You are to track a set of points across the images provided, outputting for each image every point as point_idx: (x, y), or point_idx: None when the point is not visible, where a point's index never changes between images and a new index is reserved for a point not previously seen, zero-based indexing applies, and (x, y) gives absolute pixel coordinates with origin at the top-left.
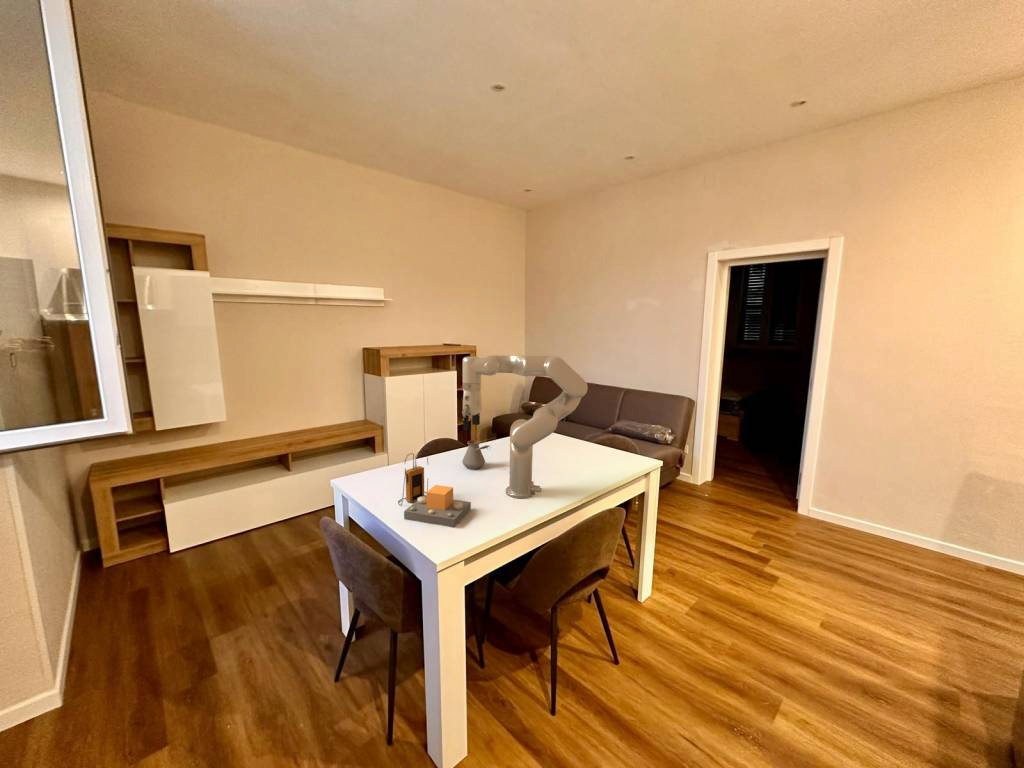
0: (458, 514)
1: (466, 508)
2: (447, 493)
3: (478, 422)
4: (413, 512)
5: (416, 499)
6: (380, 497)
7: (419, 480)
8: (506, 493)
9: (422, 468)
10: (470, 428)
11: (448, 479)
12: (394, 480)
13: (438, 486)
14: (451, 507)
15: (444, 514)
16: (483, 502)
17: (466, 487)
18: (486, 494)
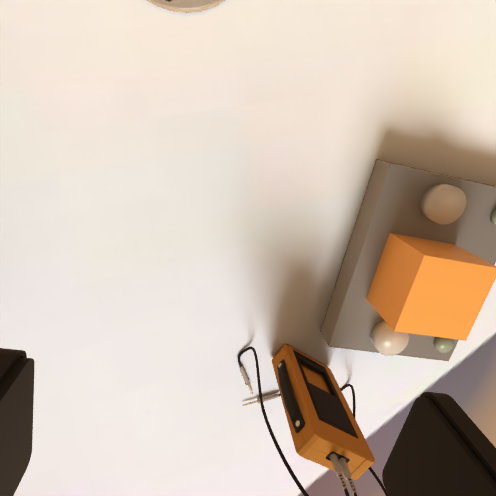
0: (493, 189)
1: (426, 171)
2: (473, 262)
3: (9, 395)
4: None
5: (311, 359)
6: (291, 452)
7: (320, 401)
8: (215, 5)
9: (322, 434)
10: (463, 414)
11: (93, 312)
12: (152, 472)
13: (412, 315)
14: (434, 227)
15: (486, 237)
16: (313, 116)
17: (165, 220)
18: (228, 115)
